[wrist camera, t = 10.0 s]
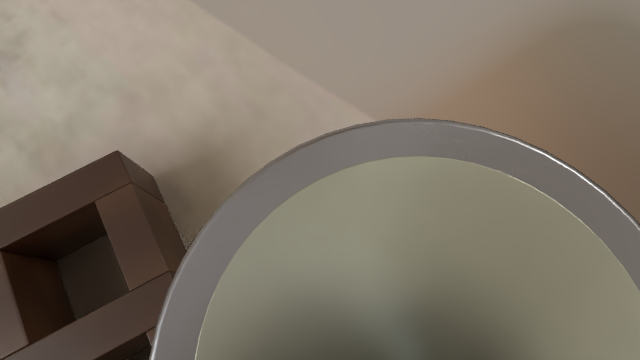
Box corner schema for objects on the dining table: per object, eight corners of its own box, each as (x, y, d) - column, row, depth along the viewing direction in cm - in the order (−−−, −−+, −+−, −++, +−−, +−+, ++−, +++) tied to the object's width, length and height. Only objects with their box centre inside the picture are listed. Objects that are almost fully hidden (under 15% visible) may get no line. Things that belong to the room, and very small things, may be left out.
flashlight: (360, 430, 14) (444, 1003, 2) (274, 328, 15) (26, 360, 3) (451, 336, 15) (877, 404, 3) (363, 244, 16) (418, 23, 4)
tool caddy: (268, 437, 20) (251, 465, 16) (104, 533, 20) (46, 585, 16) (153, 175, 24) (117, 149, 20) (13, 246, 24) (-51, 232, 20)
